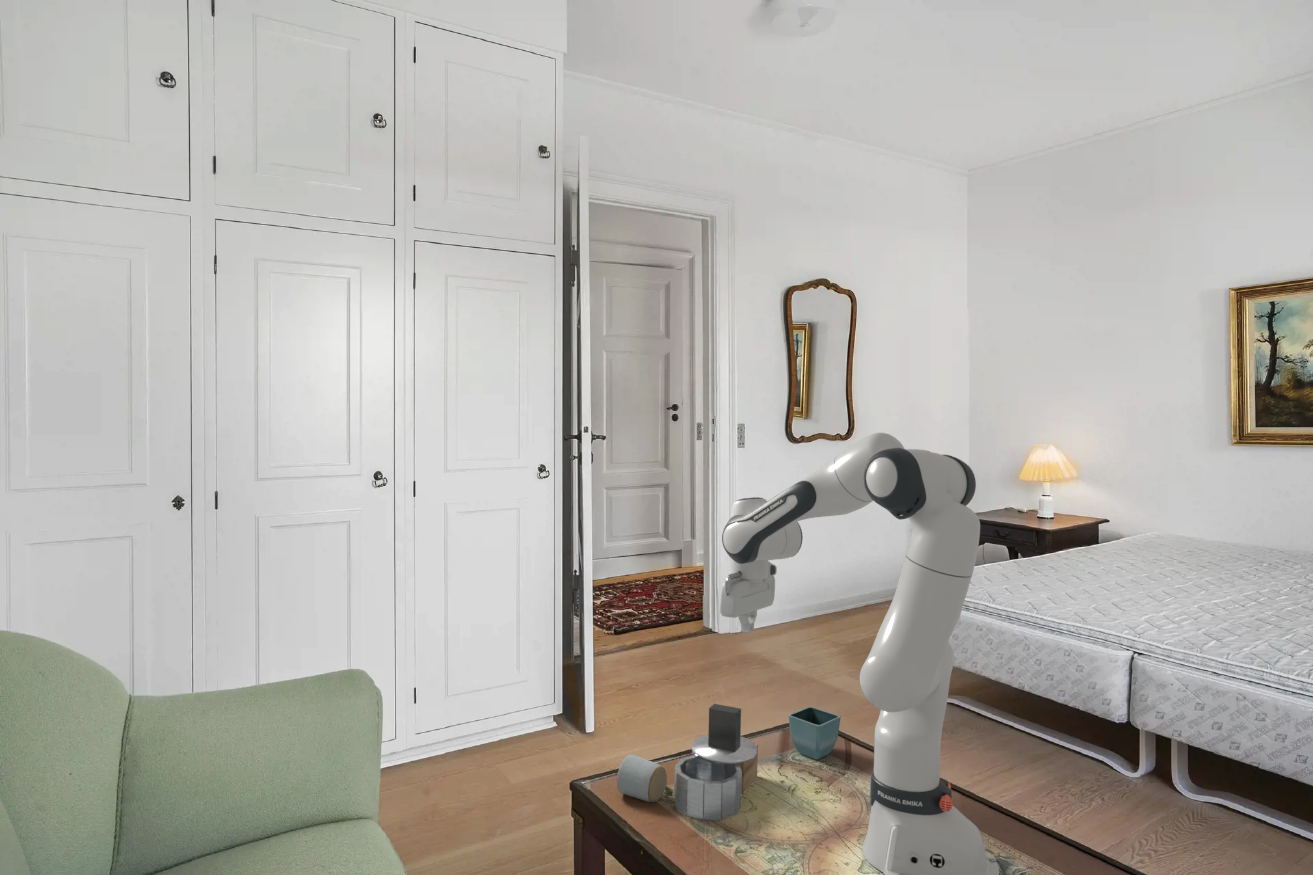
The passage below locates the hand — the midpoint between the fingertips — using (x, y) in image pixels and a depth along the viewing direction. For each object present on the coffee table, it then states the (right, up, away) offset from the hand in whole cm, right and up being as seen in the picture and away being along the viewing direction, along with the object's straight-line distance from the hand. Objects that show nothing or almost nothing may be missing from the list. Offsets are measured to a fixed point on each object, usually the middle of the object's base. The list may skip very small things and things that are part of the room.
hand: (747, 631), depth 175 cm
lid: (-6, -22, -12) cm, 26 cm away
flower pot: (+16, -30, +5) cm, 34 cm away
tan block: (-5, -29, -9) cm, 31 cm away
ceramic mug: (-23, -29, -16) cm, 41 cm away
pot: (-10, -29, -20) cm, 37 cm away
